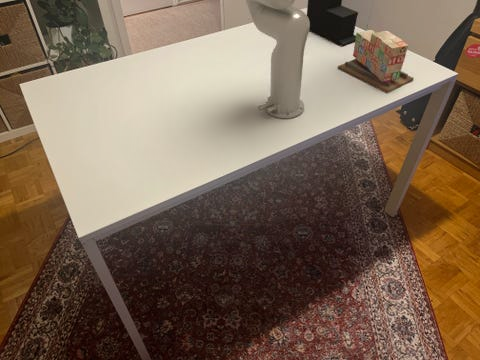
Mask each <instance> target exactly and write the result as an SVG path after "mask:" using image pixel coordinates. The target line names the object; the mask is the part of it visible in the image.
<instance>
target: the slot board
mask: <svg viewBox="0 0 480 360" xmlns="http://www.w3.org/2000/svg"><path fill="white" fill-rule="evenodd" d="M337 70H339V71H341V72H344V73H346V74H348V75H349V76H352V77H353V78H356V79H357V80H360V81H361V82H363V83H366V85H367V84H368V85H369V86H372V87H373V88H376V89H377V90H379V91H381V92H383V93H385V94H388V93H391V92H393V91H395V90H397V89H400V88H401V87H403V86H405V85H408V84H409V83H411V82H413V81H414V79H415V78H414V77H412V76H410V75H409V74H408V73H406V72H404V71H402V70H401V72H400V76H399V79H397V80H391V81H387V82H382V81H381V80H380V79H379V78H378V77H376V76H375V75H374V74H373V73H372V72H371V71H370V70H369V69H367V68H366V67H365V66H364V65H363V64H362V63H361V62H359V61H358V60H357V59H356V58H355V59H352V60H349V61H345V62H344V63H342V64H340V65H339V64H338V66H337Z"/></svg>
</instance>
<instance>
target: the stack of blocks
mask: <svg viewBox="0 0 480 360" xmlns="http://www.w3.org/2000/svg"><path fill="white" fill-rule="evenodd" d="M355 35H356V39H355V40H356V41H355V42H354V46H353V54H352V56H353V58H355V59H357V60H358V61H359V62H361V63H362V64H363V65H364V66H365V67H366V68H367V69H369V70H370V71H371V72H372V73H373V74H374V75H375V76H376V77H378V78H379V79H380V80H381V81H382V82H387V81H391V80H397V79H399V76H400V72H401V71H402V68H403V65H404V62H405V58H406V55H407V52H408V49H409V44H408V43H406V42H405V41H404V40H403V39H401V38H400V37H398V36H397V35H394V34H393V33H391V32H390V31H388V30H383V31H378V32H376V31H374V30H372V29H369V30H368V29H367V30H362V31H357V32H356V34H355Z"/></svg>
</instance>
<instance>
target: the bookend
mask: <svg viewBox="0 0 480 360" xmlns="http://www.w3.org/2000/svg"><path fill="white" fill-rule="evenodd" d="M342 3H343V0H307V7H306V8H307V9H306V15H307V16H308V18H309V21H310V29H309V32H311V33H313V34H315V35H317V36H320V37H321V38H324V39H325V40H327V41H329V42H331V43H334V44H336V45H338V46H340V47H346V46H347V45H350V44H355V41H356V40H355V39H356V34H355V31H356V30H355V29H356V24H357V18H358V15H359V11H356V10H353V9H351V8H348V7H346V6H344V5H342Z"/></svg>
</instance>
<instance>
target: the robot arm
mask: <svg viewBox="0 0 480 360" xmlns="http://www.w3.org/2000/svg"><path fill="white" fill-rule="evenodd" d="M295 1H296V0H245V3H246V6H247V9H248V11H249V15H250V17H251V20H252V22H253V24H254V26H255V28H256V29H257V30H258V31H259V32H260V33H262V34H264V35H265V36H268V37H271V38H272V39H274V40H276V44H275V46H274V48H273V49H272V52H271V57H270V90H269V91H270V94H269V95H270V96H268V97H267V101H265V103H262V104H260V105H258V106H257V108H258V111H260V112H263V111H266V113H267V114H269V115H271V116H272V117H274V118H279V119H293V118H295V117H298V116H300V115H301V114H302V113H303V111H304V110H305V104H304V102H303V101H302V100H301V89H302V88H301V87H302V78H303V64H304V54H305V48H306V43H307V40H308V36H309V32H310V31H309V29H310V21H309V18H308V16H307V13H305V12H304V11H303V10H302V9H299V8H298V7H295V6H293V4H294V3H295Z"/></svg>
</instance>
